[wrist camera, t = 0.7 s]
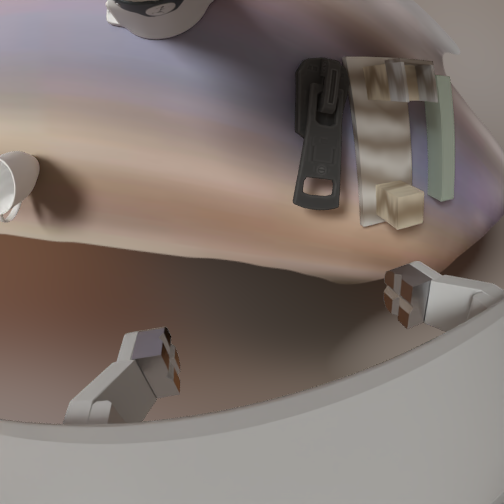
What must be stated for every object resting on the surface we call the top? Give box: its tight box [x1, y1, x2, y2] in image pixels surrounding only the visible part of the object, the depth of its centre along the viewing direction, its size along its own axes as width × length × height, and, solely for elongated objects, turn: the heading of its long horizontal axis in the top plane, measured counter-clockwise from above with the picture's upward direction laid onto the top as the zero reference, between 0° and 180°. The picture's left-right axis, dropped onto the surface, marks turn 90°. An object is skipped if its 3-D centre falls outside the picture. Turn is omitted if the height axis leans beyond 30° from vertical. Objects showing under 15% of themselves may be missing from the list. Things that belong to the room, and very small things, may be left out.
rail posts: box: [342, 57, 438, 230], centre depth 42 cm, size 32×12×13 cm, turn 11°
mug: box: [0, 151, 40, 222], centre depth 35 cm, size 12×9×12 cm
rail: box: [425, 75, 455, 202], centre depth 47 cm, size 26×4×5 cm, turn 11°
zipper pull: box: [293, 58, 350, 210], centre depth 43 cm, size 9×7×25 cm
